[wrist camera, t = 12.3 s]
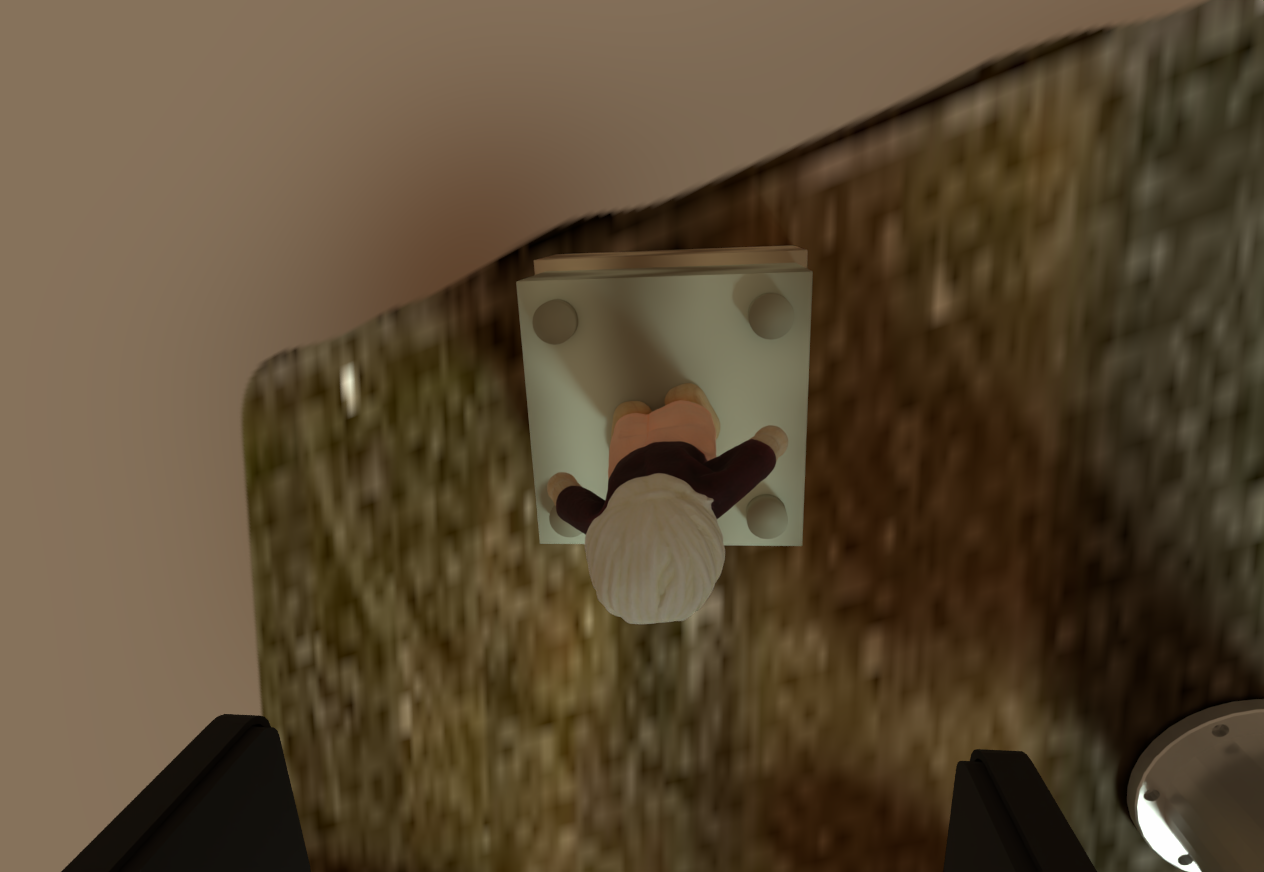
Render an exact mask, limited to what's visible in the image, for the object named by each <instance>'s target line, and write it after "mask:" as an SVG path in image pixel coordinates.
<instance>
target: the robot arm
mask: <svg viewBox="0 0 1264 872" xmlns="http://www.w3.org/2000/svg"><path fill="white" fill-rule="evenodd" d="M1127 805H1128V809H1129V813H1130V817H1131V819H1132V821H1133V823H1134V825H1135V826H1136V828H1137V830H1138V832H1139V833H1140V834H1141V836H1142V837H1143V838H1144V840H1145V841H1146V842H1147V844H1148V845H1149V846H1150V848H1151V849H1152V850H1153V851H1154V852H1156V853H1157V854H1158V855H1159V856H1160V857H1161V858H1162V859H1163V860H1165V861H1167V862H1168V863H1170V864H1172V865H1173V866H1175V867H1177V868H1179V869H1182V870H1184V871H1187V872H1264V699H1253V700H1243V701H1234V702H1229V703H1225V704H1221V705H1217V706H1214V707H1210V708H1207V709H1204V710H1202V711H1200V712H1197V713H1195V714H1192V715H1190V716H1188V717H1186V718H1184V719H1182V720H1181V721H1179V722H1177V723H1176V724H1174V725H1172V726H1170V727H1169V728H1168V729H1166V730H1165V731H1164V732H1163V733H1162V734H1160V735H1159V736H1158V737H1157V738H1156V739H1154V740H1153V741H1152V743H1151V744H1150V745H1149V746H1148V747H1147V748H1146V750H1145V751H1144V752H1143V753H1142V754H1141V756H1140V757H1139V759H1138V761H1137V763H1136V764H1135V766H1134V768H1133V770H1132V772H1131V776H1130V779H1129V783H1128V786H1127ZM62 872H311V871H310V864H309V860H308V855H307V851H306V847H305V843H304V839H303V834H302V830H301V826H300V822H299V817H298V813H297V809H296V805H295V800H294V796H293V792H292V788H291V784H290V779H289V775H288V771H287V767H286V762H285V758H284V754H283V750H282V745H281V741H280V737H279V734H278V731H277V730H276V729H275V728H273V727H271V726H270V724H269V721H268V720H267V719H266V718H265V717H263V716H254V715H253V716H252V715H233V714H224V715H221V716H218V717H217V718H215V719H214V720H213V721H212V722H211V723H210V724H209V725H208V726H207V727H206V728H205V729H204V730H203V731H202V732H201V733H200V734H199V735H198V736H197V737H196V738H195V739H194V740H193V741H192V742H191V743H190V744H189V745H188V746H187V747H186V748H185V749H184V750H183V751H182V752H181V753H180V754H179V755H178V756H177V757H176V758H175V759H174V760H173V761H172V762H171V763H170V764H169V765H168V766H167V767H166V768H165V769H164V770H163V771H162V772H161V773H160V774H159V775H158V776H157V777H156V778H155V779H154V780H153V781H152V782H151V783H150V784H149V785H148V786H147V787H146V788H145V789H144V790H143V791H142V792H141V793H140V794H139V795H138V796H137V797H136V798H135V799H134V800H133V801H132V802H131V803H130V804H129V805H128V806H127V807H126V808H125V809H124V810H123V811H122V812H121V813H120V814H119V815H118V816H117V817H116V818H115V819H114V820H113V821H112V822H111V823H110V824H109V825H108V826H107V827H106V828H105V829H104V830H103V831H102V832H101V833H100V834H99V835H98V836H97V837H96V838H95V839H94V840H93V841H92V842H91V843H90V844H89V845H88V846H87V847H86V848H85V849H84V850H83V851H82V852H81V853H80V854H79V855H78V856H77V857H76V858H75V859H74V860H73V861H72V862H71V863H70V864H69V865H68V866H67V867H66V868H65V869H64V870H63V871H62ZM943 872H1097V871H1096V869H1095V868H1094V866H1093V864H1092V863H1091V861H1090V859H1089V857H1088V856H1087V854H1086V852H1085V851H1084V849H1083V847H1082V846H1081V844H1080V842H1079V841H1078V839H1077V837H1076V835H1075V834H1074V832H1073V830H1072V829H1071V827H1070V825H1069V824H1068V822H1067V820H1066V819H1065V817H1064V815H1063V813H1062V812H1061V810H1060V808H1059V807H1058V805H1057V803H1056V802H1055V800H1054V798H1053V797H1052V795H1051V793H1050V791H1049V790H1048V788H1047V786H1046V785H1045V783H1044V781H1043V780H1042V778H1041V776H1040V775H1039V773H1038V771H1037V769H1036V768H1035V766H1034V764H1033V763H1032V761H1031V760H1030V758H1029V757H1028V756H1027V754H1025V753H1024V752H1022V751H1002V750H980V749H977V750H974V751H973V753H972V754H971V758H970V761H959V762H958V764H957V768H956V774H955V782H954V790H953V799H952V807H951V815H950V823H949V831H948V839H947V847H946V855H945V863H944V871H943Z"/></svg>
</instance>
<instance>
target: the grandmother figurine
mask: <svg viewBox="0 0 1264 872" xmlns="http://www.w3.org/2000/svg"><path fill="white" fill-rule="evenodd" d="M719 433H720V421H719V418H718V416H717V414H716V413H715V411H714V409H713V407H712V405H711V404H710V402H709V400H708V398H707V397H706V395H705V393H704V392H703V390H702V389H701V388H700V387H699V386H697V385H695V384H692V383H684V384H681V385H678V386H676V387H674V388H672V389H671V390H669V391H668V393H667V394H666V397H665V406H663V407H661V408H659V409H657V410H655V411H653V412H652V410H651V409H650V407H649V406H648V405H646V404H645V403H643V402H641V401H627V402H623V403H621V404H620V405H619V406H617V408H616V409H615V411H614V414H613V421H612V430H611V440H610V449H609V467H608V491H607V495H606V500H604V499H602V498H601V497H599V496H597V495H596V494H595V493H593V492H592V491H590V490H588V489H586V488H583V487H582V486H581V485H580V484H579V483H578V482H577V480H576V479H575V478H574V476H572V475H571V474H569V473H566V472H558V473H556V474H555V475H553V476H552V477H551V478H550V479H549V481H548V484H547V492H548V495H549V497H550V498H551V499H552V500H553V502H554V505H555V506H556V512H557V515H558V516H559V517H560V518H561V519H562V520H563V521H565V522H566V523H568V524H570V525H571V526H572V527H574V528H576V529H577V530H579V531H580V532H582V533H584V534H585V535H586V536H585V551H586V558H587V562H588V567H589V573H590V577H591V580H592V584H593V587H594V588H595V590H596V593H597V597H598V600H599V601H600V602H601V603H602V604H603V605H604V606H605V608H606V609H607V611H608V612H609V613H611V614H613V615H615V616H619V617H622V618H623V619H624V620H625V621H626V622H628V623H630V624H653V623H660V622H672V621H683V620H685V619H687V618H689V617H690V616H691V615H692V614H693V613H694V612H696V611H698V610H699V609H700V608H701V607H702V606H703V604H704V603H705V602H706V600H707V599H708V597H709V596H710V594H711V592H712V591H713V589H714V585H715V582H716V581H717V580H718V578H719V577H720V575H721V572H722V568H723V564H724V561H725V548H724V544H723V535H722V532H721V530H720V528H719V526H718V522H717V519H718V518H720V517H721V516H722V515H723V514H725V513H726V512H727V511H728V510H730V509H731V508H732V507H733V506H734V505H735V504H736V503H738V502H739V501H740V500H741V499H742V498H744V497H745V496H746V495H747V494H748V493H749V492H750V491H751V490H753V489H754V488H755V487H756V486H757V485H758V484H759V483H760V482H761V481H763V480H764V479H765V478H766V477H767V476H768V475H769V474H770V473H771V472H772V471H773V469H774V468H775V465H776V462H777V460H778V458H779V457H780V456H781V455H783V454H784V453H785V451H786V450H787V447H788V437H787V435H786V433H785V432H784V431H783V430H782V429H781V428H780V427H777V426H773V425H768V426H765V427H762V428H761V429H760V430H758V431H757V432H756V434H755V436H753V437H752V438H750V439H749V440H747V441H745V442H743V443H741V444H740V445H738V446H735V447H733V448H732V449H730V450H728V451H726V452H725V453H723V454H722V455H720V456H718V457H716V439H717V438H718V436H719Z"/></svg>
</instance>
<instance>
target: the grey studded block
mask: <svg viewBox="0 0 1264 872" xmlns="http://www.w3.org/2000/svg"><path fill="white" fill-rule="evenodd" d="M807 257H808V250H806V249H803V248H800V247H797V246H794V245H787V246H761V247H735V248H709V249H683V250H656V251H630V252H604V253H578V254H556V255H552V256H548V257H544V258H541V259H537V260H534V270H535V275H534V276H531V277H528V278H525V279H522V280H519V281H516V285H517V296H518V307H519V318H520V329H521V340H522V351H523V362H524V373H525V384H526V395H527V406H528V417H529V428H530V439H531V450H532V461H533V472H534V483H535V494H536V505H537V516H538V527H539V538H540V544H585V536H586V535H585V534H584V533H582V532H580V531H579V530H577V529H576V528H574V527H572V526H571V525H570V524H568V523H566V522H565V521H563V520H562V519H561V518H560V517H559V516H558V515H557V512H556V506H555V505H554V502H553V500H552V499H551V498H550V497H549V495H548V492H547V484H548V481H549V479H550V478H551V477H552V476H553V475H555V474H556V473H558V472H566V473H569V474H571V475H572V476H574V478H575V479H576V480H577V482H578V483H579V484H580V485H581V486H582V487H583V488H586V489H588V490H590V491H592V492H593V493H595V494H596V495H597V496H599V497H601V498H602V499H604V500H606V495H607V491H608V467H609V449H610V440H611V430H612V421H613V414H614V411H615V409H616V408H617V406H619V405H620V404H621V403H623V402H627V401H641V402H643V403H645V404H646V405H648V406H649V407H650V409H651V410H652V412H653V411H655V410H657V409H659V408H661V407H663V406H665V397H666V394H667V393H668V391H669V390H671V389H672V388H674V387H676V386H678V385H681V384H684V383H692V384H695V385H697V386H699V387H700V388H701V389H702V390H703V392H704V393H705V395H706V397H707V398H708V400H709V402H710V404H711V405H712V407H713V409H714V411H715V413H716V414H717V416H718V418H719V421H720V433H719V436H718V438H717V439H716V457H718V456H720V455H722V454H723V453H725V452H726V451H728V450H730V449H732V448H733V447H735V446H738V445H740V444H741V443H743V442H745V441H747V440H749V439H750V438H752V437H753V436H755V434H756V432H757V431H758V430H760V429H761V428H762V427H765V426H768V425H773V426H777V427H780V428H781V429H782V430H783V431H784V432H785V433H786V435H787V437H788V447H787V450H786V451H785V453H784V454H783V455H781V456H780V457H779V458H778V460H777V462H776V465H775V468H774V469H773V471H772V472H771V473H770V474H769V475H768V476H767V477H766V478H765V479H764V480H763V481H761V482H760V483H759V484H758V485H757V486H756V487H755V488H754V489H753V490H751V491H750V492H749V493H748V494H747V495H746V496H745V497H744V498H742V499H741V500H740V501H739V502H738V503H736V504H735V505H734V506H733V507H732V508H731V509H730V510H728V511H727V512H726V513H725V514H723V515H722V516H721V517H720V518H718V519H717V522H718V526H719V528H720V530H721V532H722V535H723V544H724V545H745V546H802V538H803V512H804V486H805V460H806V434H807V407H808V381H809V355H810V329H811V303H812V277H813V271H811V270H809V269H807Z"/></svg>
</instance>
